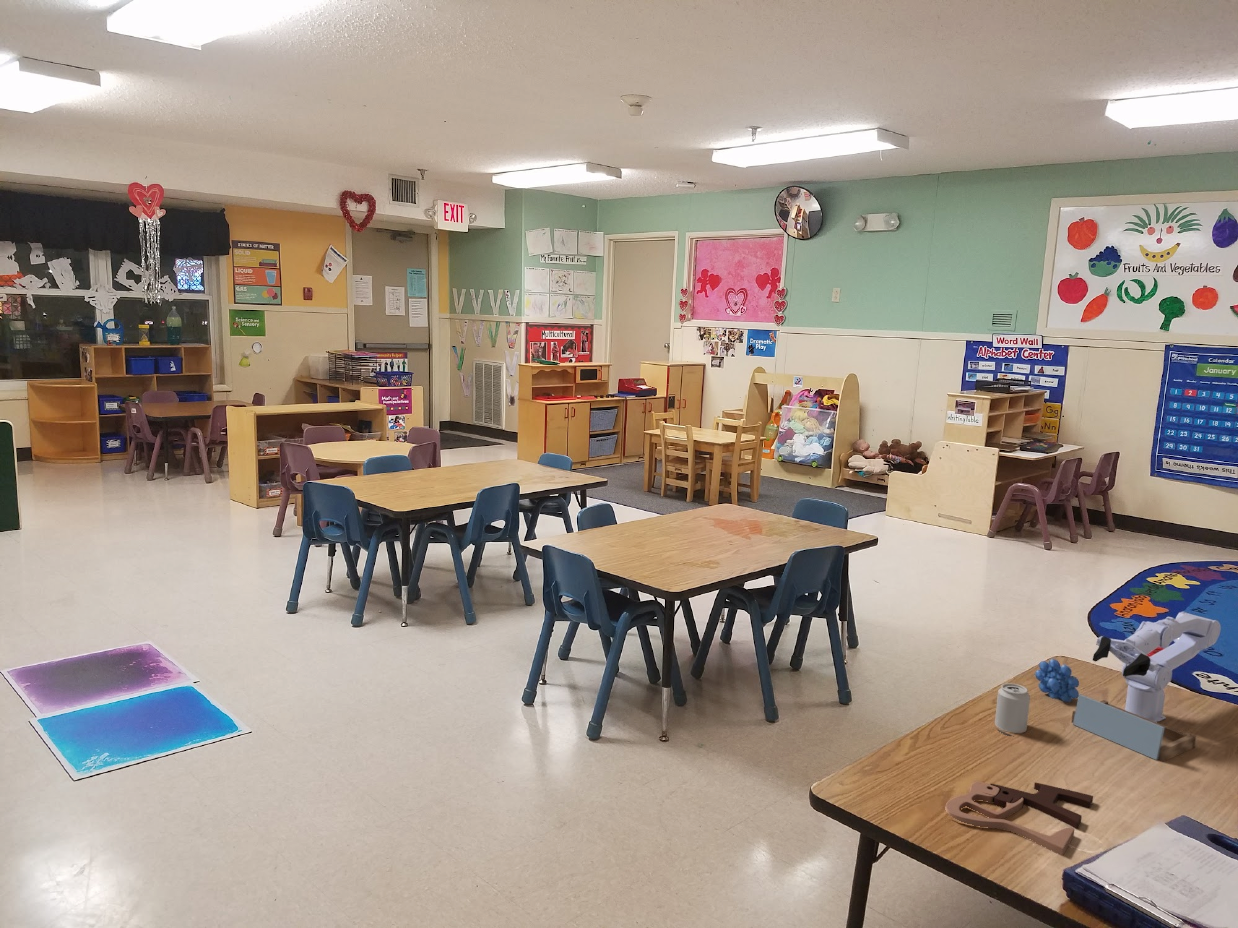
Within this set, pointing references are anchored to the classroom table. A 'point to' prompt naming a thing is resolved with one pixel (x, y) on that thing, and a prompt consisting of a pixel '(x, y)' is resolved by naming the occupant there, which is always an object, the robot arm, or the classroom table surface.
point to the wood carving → (1014, 802)
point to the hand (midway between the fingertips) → (1109, 665)
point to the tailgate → (1119, 726)
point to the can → (1012, 708)
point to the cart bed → (1166, 739)
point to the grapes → (1057, 680)
